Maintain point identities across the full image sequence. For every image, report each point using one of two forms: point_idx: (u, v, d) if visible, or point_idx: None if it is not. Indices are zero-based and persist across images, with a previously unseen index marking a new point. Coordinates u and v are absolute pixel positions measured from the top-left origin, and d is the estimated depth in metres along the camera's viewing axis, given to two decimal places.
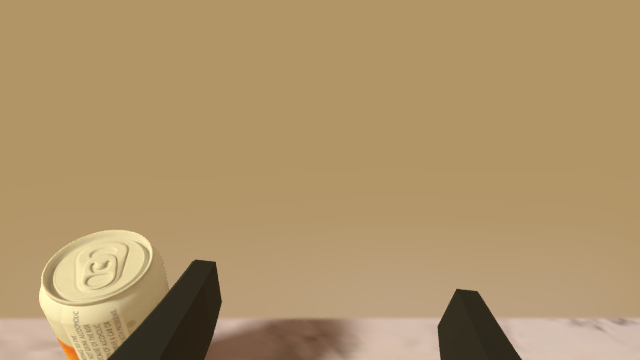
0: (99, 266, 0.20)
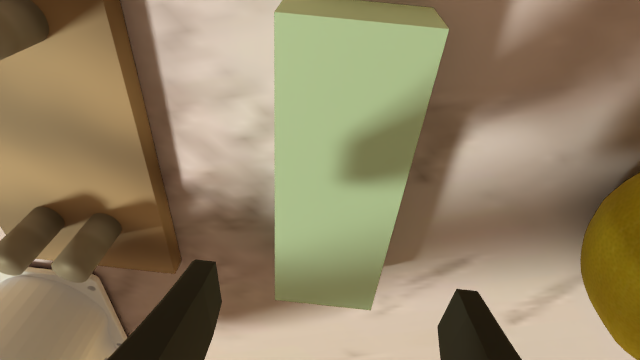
0: None
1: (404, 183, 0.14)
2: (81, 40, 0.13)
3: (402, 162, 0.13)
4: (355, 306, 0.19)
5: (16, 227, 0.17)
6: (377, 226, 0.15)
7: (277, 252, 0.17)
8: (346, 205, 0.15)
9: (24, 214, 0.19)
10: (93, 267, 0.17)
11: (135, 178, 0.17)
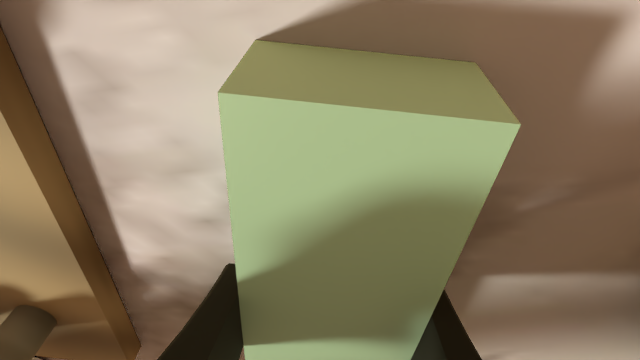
0: None
1: (428, 316, 0.09)
2: None
3: (427, 293, 0.09)
4: None
5: None
6: (387, 358, 0.11)
7: None
8: (343, 335, 0.10)
9: None
10: None
11: (63, 270, 0.13)
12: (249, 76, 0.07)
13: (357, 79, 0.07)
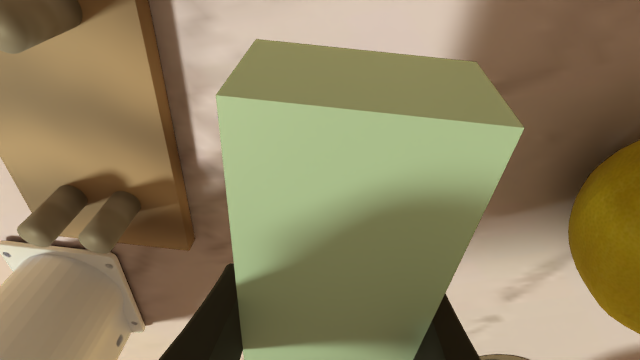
0: None
1: (429, 320, 0.09)
2: (110, 26, 0.14)
3: (428, 297, 0.09)
4: None
5: (44, 203, 0.19)
6: None
7: None
8: (343, 339, 0.10)
9: (50, 192, 0.20)
10: (116, 239, 0.18)
11: (156, 156, 0.18)
12: (248, 78, 0.07)
13: (358, 81, 0.07)
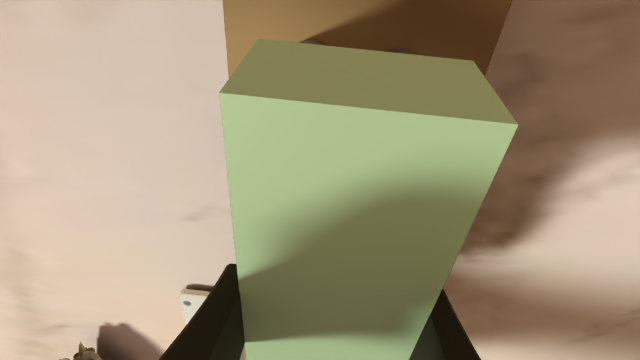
0: None
1: (427, 314, 0.09)
2: None
3: (426, 291, 0.09)
4: None
5: None
6: (387, 356, 0.11)
7: None
8: (343, 333, 0.10)
9: None
10: None
11: None
12: (250, 76, 0.07)
13: (357, 79, 0.07)
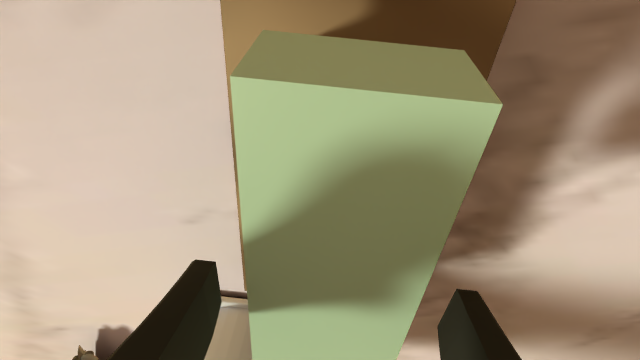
0: None
1: (423, 290, 0.10)
2: None
3: (421, 267, 0.10)
4: None
5: None
6: (384, 333, 0.12)
7: (255, 354, 0.13)
8: (343, 311, 0.11)
9: None
10: None
11: None
12: (258, 62, 0.07)
13: (356, 66, 0.08)
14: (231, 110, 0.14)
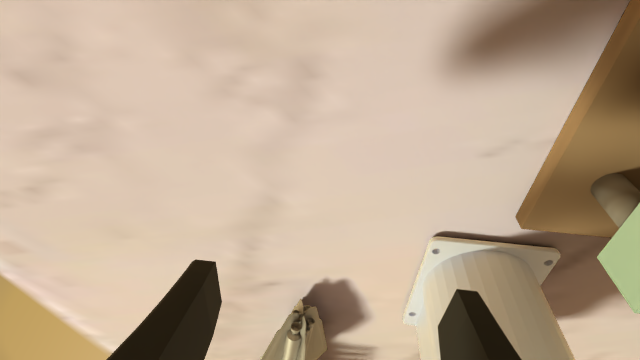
0: None
1: None
2: None
3: None
4: None
5: (628, 192, 0.17)
6: None
7: None
8: None
9: (585, 182, 0.19)
10: None
11: None
12: None
13: None
14: None
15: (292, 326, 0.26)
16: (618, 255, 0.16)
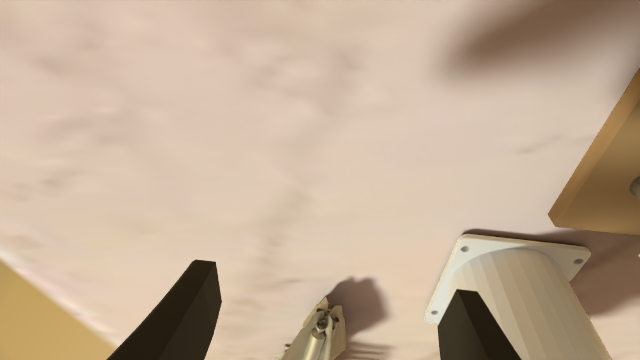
0: None
1: None
2: None
3: None
4: None
5: None
6: None
7: None
8: None
9: (625, 179, 0.18)
10: None
11: None
12: None
13: None
14: None
15: (317, 324, 0.25)
16: None
